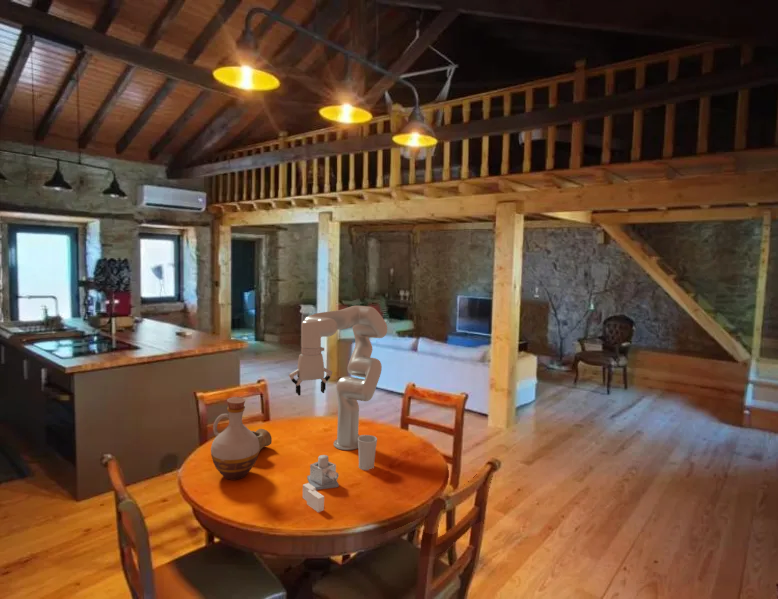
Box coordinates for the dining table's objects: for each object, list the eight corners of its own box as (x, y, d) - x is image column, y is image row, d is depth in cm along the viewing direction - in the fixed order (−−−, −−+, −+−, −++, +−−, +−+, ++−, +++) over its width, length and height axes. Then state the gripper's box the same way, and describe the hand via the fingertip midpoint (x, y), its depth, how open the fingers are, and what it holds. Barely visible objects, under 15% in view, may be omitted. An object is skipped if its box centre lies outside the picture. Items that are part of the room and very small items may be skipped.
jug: (196, 479, 180) (196, 401, 178) (228, 461, 197) (229, 389, 194) (238, 490, 173) (239, 409, 170) (268, 470, 190) (269, 396, 187)
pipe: (273, 447, 213) (274, 425, 212) (257, 462, 197) (258, 438, 196) (254, 445, 214) (255, 423, 213) (237, 459, 198) (237, 436, 198)
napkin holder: (328, 515, 159) (329, 499, 159) (294, 515, 158) (294, 499, 158) (331, 493, 174) (331, 478, 174) (299, 493, 173) (300, 478, 173)
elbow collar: (309, 479, 181) (310, 464, 181) (323, 474, 186) (323, 459, 186) (328, 489, 174) (328, 473, 174) (341, 483, 179) (342, 467, 179)
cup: (380, 467, 197) (381, 438, 196) (366, 473, 191) (367, 443, 190) (366, 461, 202) (367, 433, 201) (352, 466, 196) (353, 438, 195)
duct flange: (332, 475, 188) (333, 450, 187) (338, 487, 178) (339, 461, 177) (307, 478, 184) (307, 453, 184) (311, 490, 175) (312, 464, 174)
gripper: (329, 347, 195) (329, 388, 197) (287, 350, 188) (287, 392, 190) (335, 351, 188) (334, 393, 190) (291, 354, 181) (291, 398, 183)
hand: (310, 393), depth 190 cm, fingers open, 9 cm apart
